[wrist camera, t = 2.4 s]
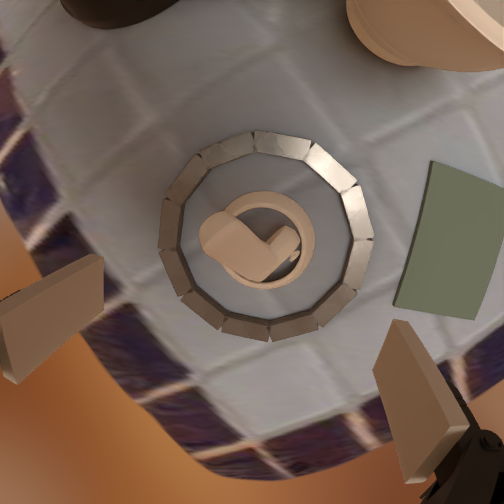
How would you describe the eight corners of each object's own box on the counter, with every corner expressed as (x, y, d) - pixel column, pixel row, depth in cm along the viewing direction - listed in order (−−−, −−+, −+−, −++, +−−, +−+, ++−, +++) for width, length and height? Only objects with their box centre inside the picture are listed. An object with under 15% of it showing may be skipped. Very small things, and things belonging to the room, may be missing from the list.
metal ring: (179, 121, 22) (174, 120, 21) (388, 160, 21) (392, 160, 20) (158, 309, 27) (153, 314, 26) (336, 348, 26) (338, 354, 25)
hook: (212, 108, 17) (296, 163, 14) (280, 196, 27) (338, 246, 24) (125, 203, 18) (181, 285, 14) (221, 258, 28) (272, 315, 25)
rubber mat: (430, 160, 21) (433, 160, 20) (510, 192, 20) (513, 193, 20) (392, 304, 24) (394, 306, 24) (472, 318, 24) (474, 320, 23)
